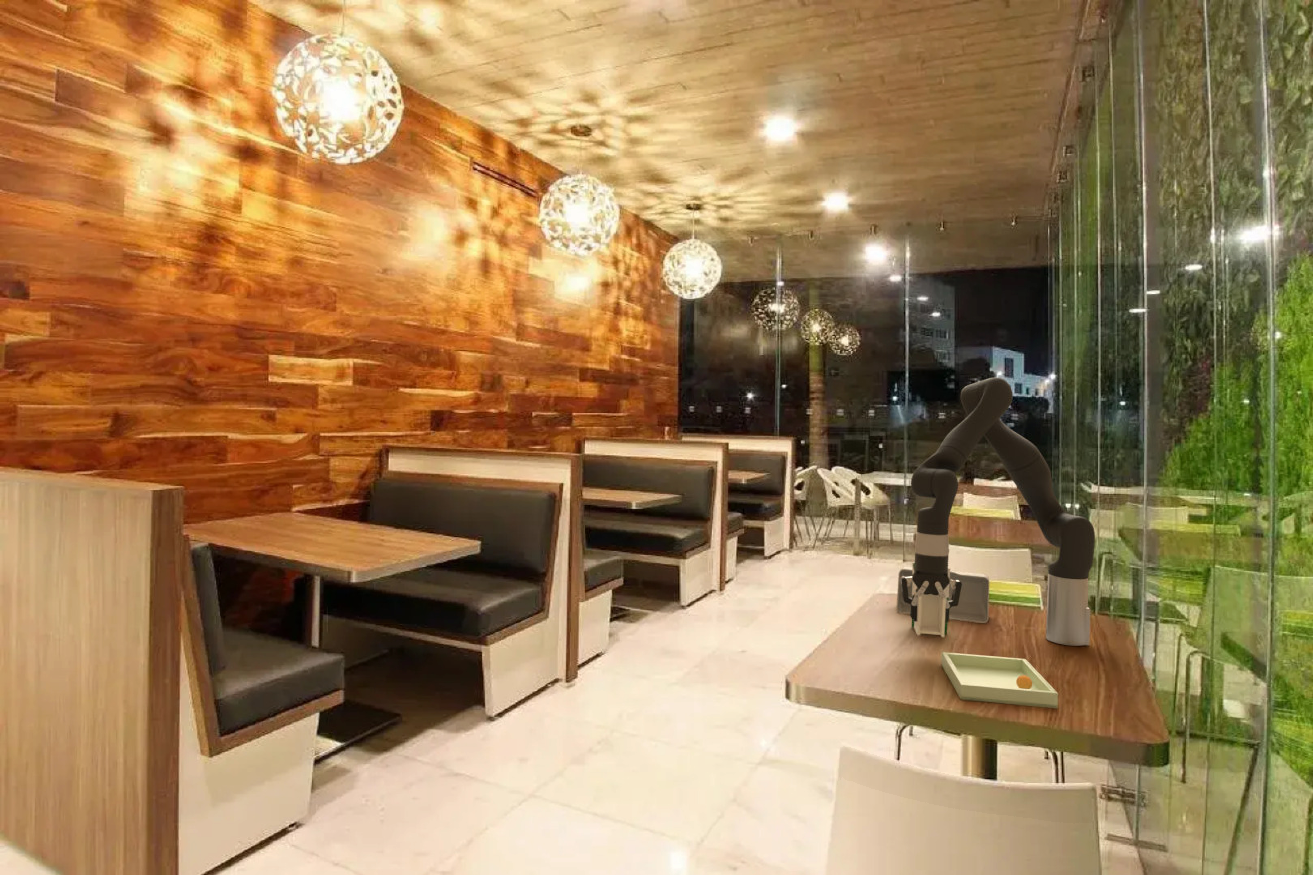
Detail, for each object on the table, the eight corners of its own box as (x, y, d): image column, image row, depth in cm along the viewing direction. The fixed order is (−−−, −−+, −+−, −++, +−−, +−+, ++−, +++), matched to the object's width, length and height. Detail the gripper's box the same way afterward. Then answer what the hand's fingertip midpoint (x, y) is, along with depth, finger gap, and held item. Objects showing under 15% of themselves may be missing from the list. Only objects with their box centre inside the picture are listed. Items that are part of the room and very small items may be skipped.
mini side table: (913, 628, 179) (915, 591, 179) (939, 630, 178) (941, 593, 177) (917, 635, 173) (918, 597, 173) (944, 637, 172) (945, 599, 171)
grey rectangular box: (987, 611, 223) (989, 570, 222) (988, 624, 208) (989, 580, 208) (901, 601, 233) (902, 562, 232) (896, 612, 218) (897, 571, 218)
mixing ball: (1016, 685, 155) (1012, 675, 154) (1030, 681, 155) (1026, 670, 154) (1022, 695, 152) (1017, 684, 152) (1036, 690, 152) (1032, 679, 151)
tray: (1025, 672, 166) (1025, 659, 166) (1057, 708, 145) (1058, 693, 145) (941, 664, 170) (941, 652, 170) (960, 699, 148) (961, 684, 148)
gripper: (960, 551, 177) (957, 620, 177) (898, 547, 180) (895, 615, 180) (967, 556, 170) (964, 628, 170) (902, 552, 173) (899, 623, 173)
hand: (929, 621), depth 175 cm, fingers closed on mini side table, 6 cm apart
